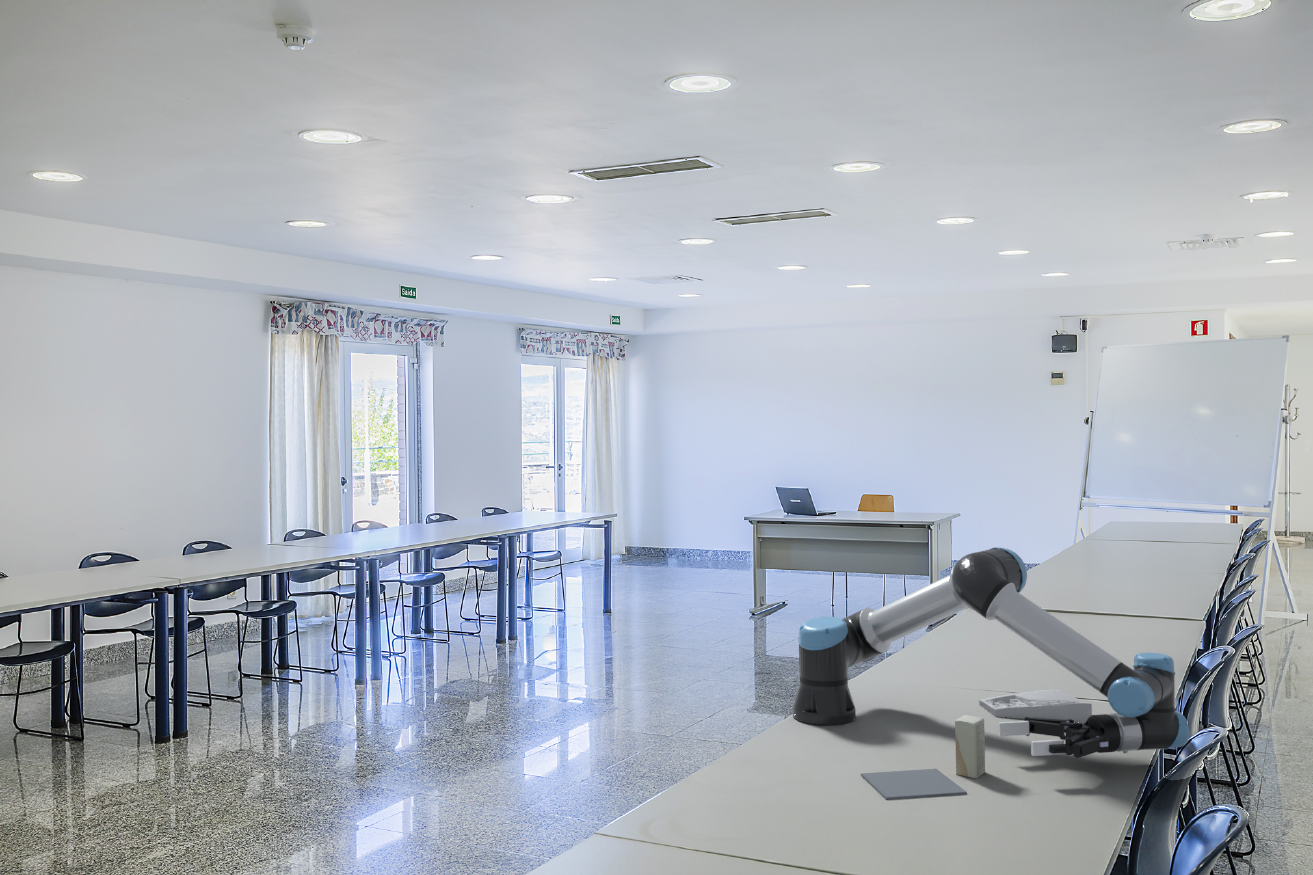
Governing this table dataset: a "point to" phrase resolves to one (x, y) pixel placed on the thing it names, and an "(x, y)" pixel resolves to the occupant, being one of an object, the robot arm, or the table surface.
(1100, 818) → the table surface
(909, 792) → the mat
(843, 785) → the table surface
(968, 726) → the box
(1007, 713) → the ramp
